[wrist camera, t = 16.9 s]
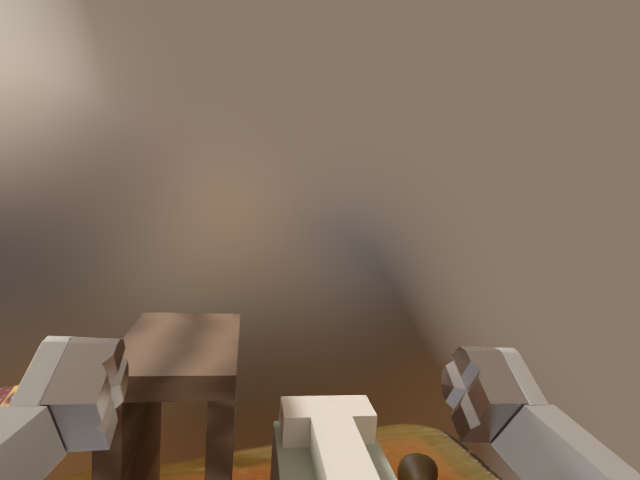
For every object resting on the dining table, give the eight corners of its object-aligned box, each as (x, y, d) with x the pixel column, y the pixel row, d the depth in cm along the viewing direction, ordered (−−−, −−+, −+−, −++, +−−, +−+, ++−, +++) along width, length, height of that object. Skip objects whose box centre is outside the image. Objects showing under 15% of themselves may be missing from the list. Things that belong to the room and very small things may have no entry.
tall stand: (90, 691, 33) (92, 376, 30) (139, 534, 47) (144, 312, 44) (221, 674, 35) (236, 375, 31) (229, 528, 49) (240, 314, 46)
